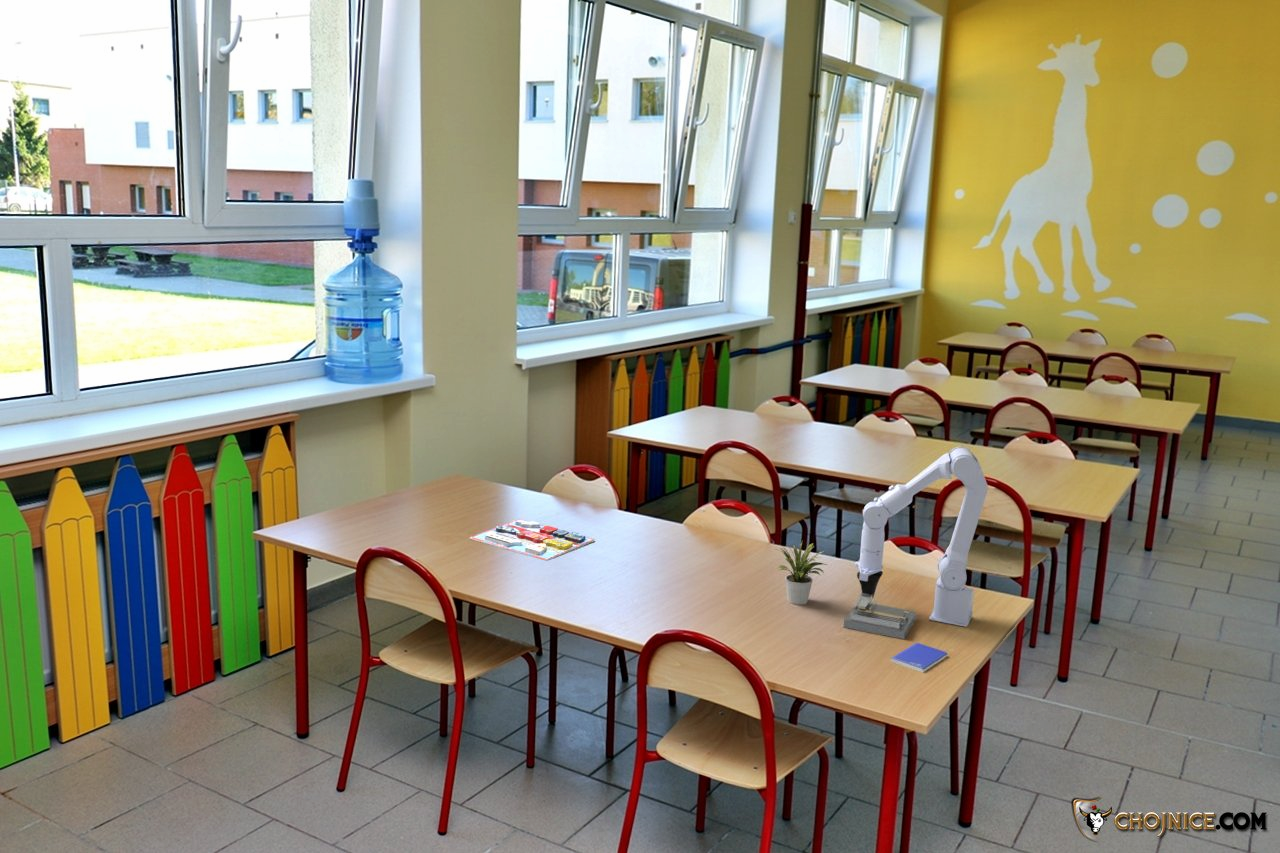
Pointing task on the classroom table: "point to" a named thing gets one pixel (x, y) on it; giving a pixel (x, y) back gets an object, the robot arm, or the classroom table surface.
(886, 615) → the tan rectangular plate
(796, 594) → the house plant
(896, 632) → the grey slotted fixture base
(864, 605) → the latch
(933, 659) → the hard drive
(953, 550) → the robot arm
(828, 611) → the classroom table surface
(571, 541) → the puzzle board
